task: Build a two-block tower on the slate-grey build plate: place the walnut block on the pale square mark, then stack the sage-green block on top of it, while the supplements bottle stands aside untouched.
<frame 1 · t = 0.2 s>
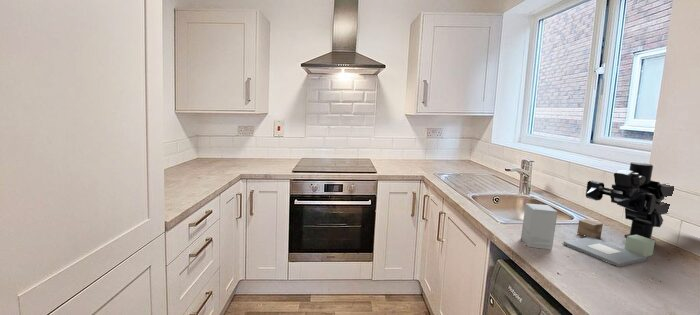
hand: (601, 198, 104), 16 cm above the countertop, tool horizontal, fingers open, 9 cm apart
supplement box: (535, 244, 107), on the countertop
build plate: (602, 251, 103), on the countertop
walnut block: (588, 235, 117), on the countertop
sage block: (638, 253, 103), on the countertop
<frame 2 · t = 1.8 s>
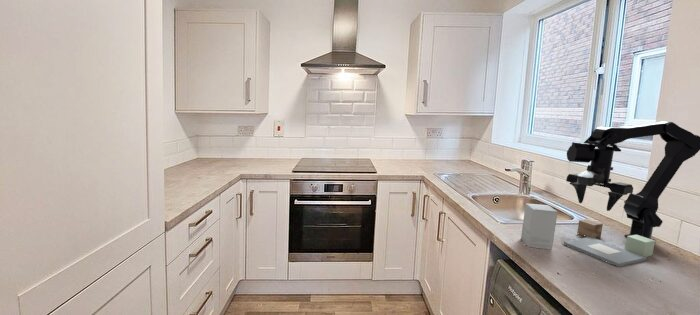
hand: (593, 206, 115), 11 cm above the countertop, tool pointing down, fingers open, 9 cm apart
nothing on the countertop moved.
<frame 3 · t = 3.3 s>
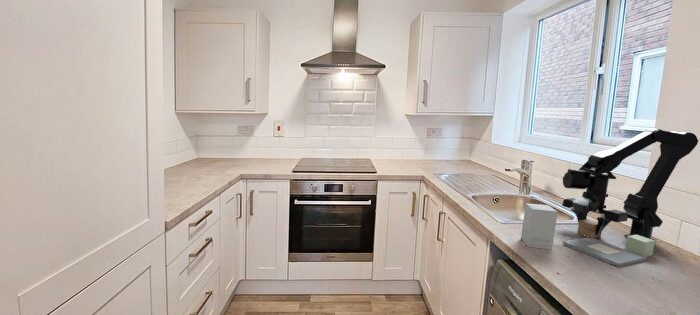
hand: (589, 232, 117), 1 cm above the countertop, tool pointing down, fingers closed on walnut block, 5 cm apart
walnut block: (588, 235, 117), on the countertop, touching gripper
everything else where it was.
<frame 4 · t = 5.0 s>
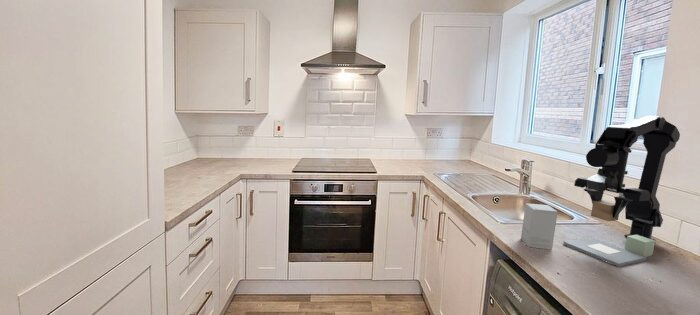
hand: (604, 214, 103), 11 cm above the countertop, tool pointing down, fingers closed on walnut block, 5 cm apart
walnut block: (604, 218, 103), point 10 cm above the countertop, touching gripper
everything else where it was.
when the fingers open (3 cm above the countertop, at t = 7.0 s): walnut block drops 1 cm, resting on build plate.
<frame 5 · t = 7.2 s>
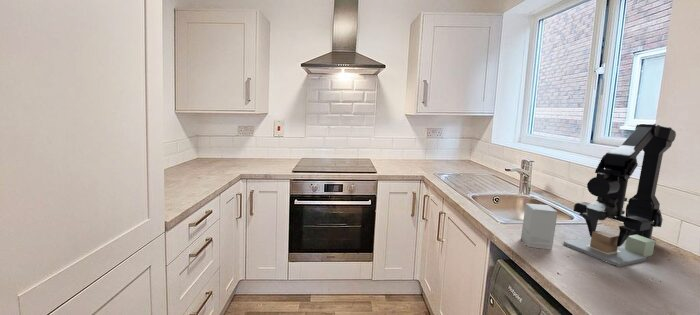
hand: (604, 241, 102), 3 cm above the countertop, tool pointing down, fingers open, 7 cm apart
walnut block: (603, 248, 103), point 1 cm above the countertop, touching build plate
everything else where it was.
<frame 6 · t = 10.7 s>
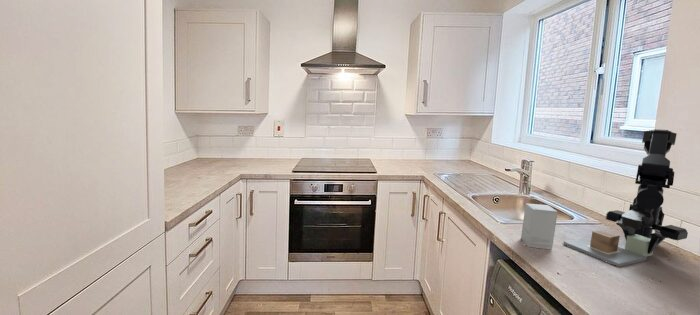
hand: (638, 249, 103), 1 cm above the countertop, tool pointing down, fingers closed on sage block, 5 cm apart
sage block: (638, 252, 103), on the countertop, touching gripper
everything else where it was.
when the fingers open (8 cm above the countertop, at t = 13.6 s): sage block drops 1 cm, resting on walnut block.
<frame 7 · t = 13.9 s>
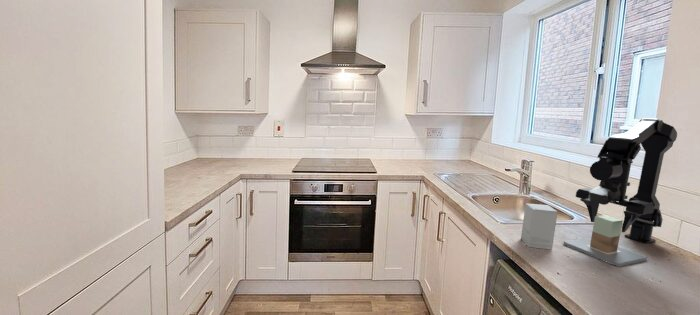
hand: (607, 226, 102), 8 cm above the countertop, tool pointing down, fingers open, 8 cm apart
walnut block: (603, 248, 103), point 1 cm above the countertop, touching build plate, sage block
sage block: (606, 233, 102), point 6 cm above the countertop, touching walnut block
everything else where it was.
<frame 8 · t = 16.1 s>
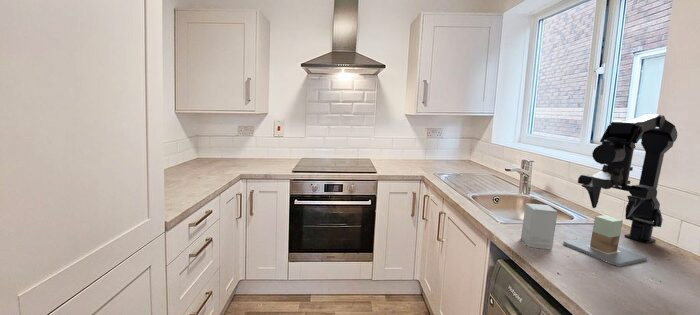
hand: (609, 212, 101), 13 cm above the countertop, tool pointing down, fingers open, 9 cm apart
nothing on the countertop moved.
at the end: walnut block 0.0 cm off-centre on the build plate, point 1.1 cm above the build plate's base; sage block 0.0 cm off-centre on the walnut block, point 5.0 cm above the walnut block's base; sage block tilted 0° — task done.
